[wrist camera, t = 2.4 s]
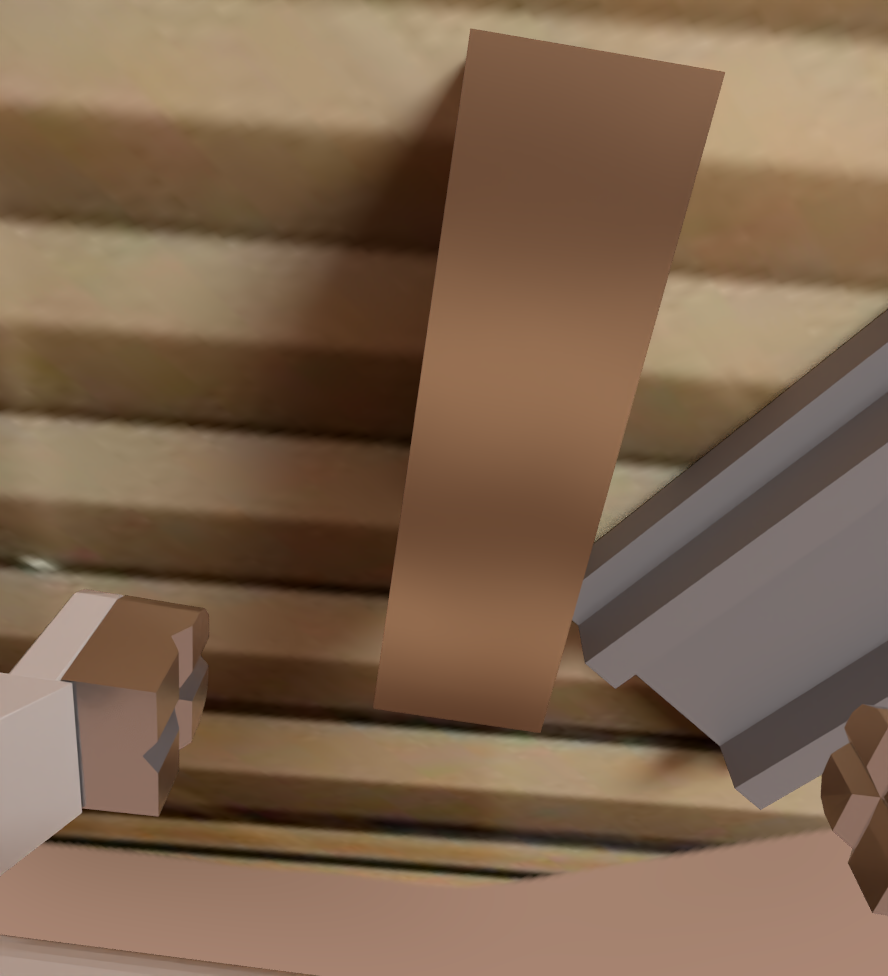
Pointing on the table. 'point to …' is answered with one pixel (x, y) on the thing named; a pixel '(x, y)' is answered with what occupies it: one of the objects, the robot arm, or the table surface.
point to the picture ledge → (762, 578)
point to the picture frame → (532, 362)
